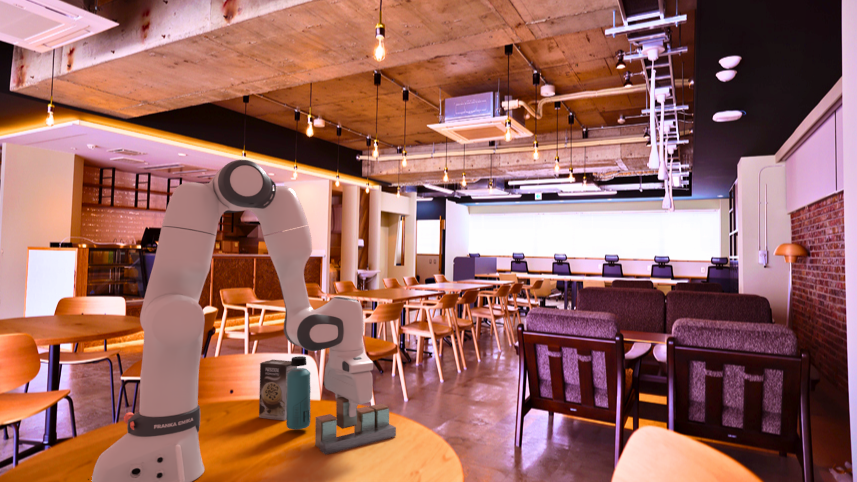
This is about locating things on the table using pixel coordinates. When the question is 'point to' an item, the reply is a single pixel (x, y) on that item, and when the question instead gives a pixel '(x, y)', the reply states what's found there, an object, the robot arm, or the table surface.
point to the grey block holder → (366, 431)
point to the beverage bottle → (298, 395)
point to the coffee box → (274, 389)
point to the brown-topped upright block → (344, 414)
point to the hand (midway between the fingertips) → (346, 413)
